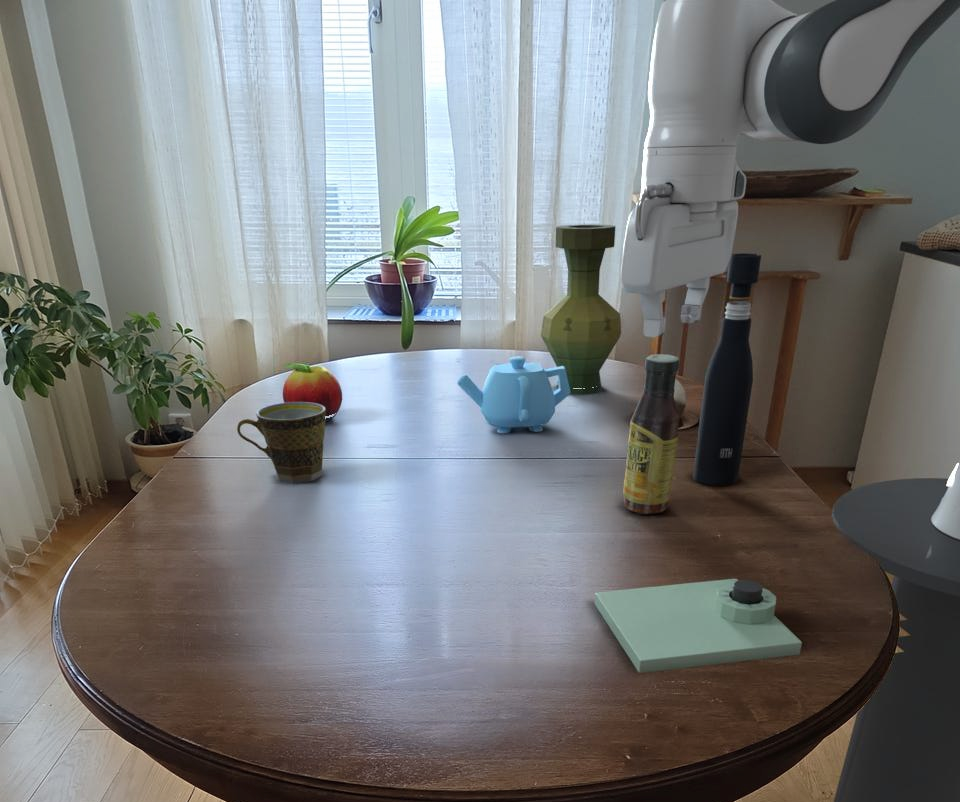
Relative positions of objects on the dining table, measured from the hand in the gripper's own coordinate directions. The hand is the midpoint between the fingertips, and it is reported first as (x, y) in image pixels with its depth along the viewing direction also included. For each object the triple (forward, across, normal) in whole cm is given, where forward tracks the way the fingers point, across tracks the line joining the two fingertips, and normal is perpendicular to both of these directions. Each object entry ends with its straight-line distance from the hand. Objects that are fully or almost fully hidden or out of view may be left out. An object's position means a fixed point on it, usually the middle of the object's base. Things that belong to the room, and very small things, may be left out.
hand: (672, 329), depth 88 cm
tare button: (+22, -13, -16) cm, 31 cm away
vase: (+25, +64, +46) cm, 83 cm away
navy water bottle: (+25, +26, +2) cm, 37 cm away
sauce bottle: (+25, +10, +6) cm, 28 cm away
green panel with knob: (+25, -17, -12) cm, 33 cm away
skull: (+25, +51, +22) cm, 61 cm away
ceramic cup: (+25, -7, +56) cm, 62 cm away
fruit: (+25, +18, +76) cm, 82 cm away
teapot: (+25, +34, +43) cm, 60 cm away
